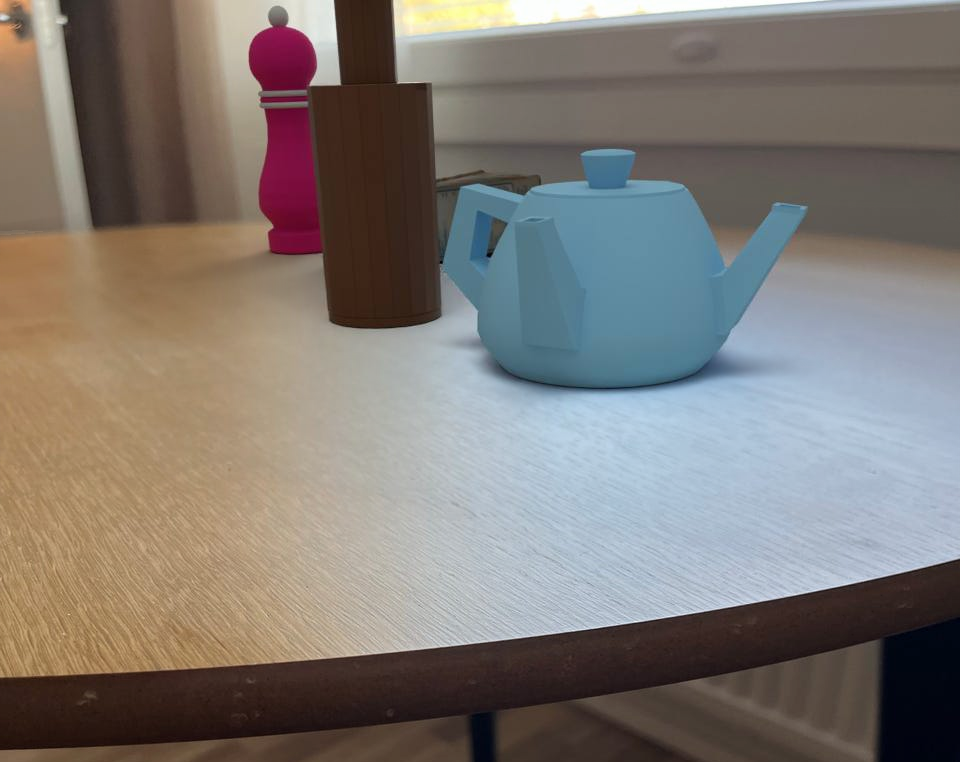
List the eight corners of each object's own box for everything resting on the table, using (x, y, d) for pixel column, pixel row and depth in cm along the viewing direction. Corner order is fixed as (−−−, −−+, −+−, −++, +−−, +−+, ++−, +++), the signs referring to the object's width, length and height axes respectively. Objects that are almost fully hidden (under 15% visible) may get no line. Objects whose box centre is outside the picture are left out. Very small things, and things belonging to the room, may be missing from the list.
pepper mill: (305, 257, 94) (279, 1, 85) (248, 252, 98) (217, 6, 88) (355, 246, 99) (336, 4, 90) (299, 241, 103) (275, 9, 93)
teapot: (666, 322, 66) (676, 136, 61) (798, 377, 54) (825, 149, 48) (438, 345, 62) (429, 149, 57) (523, 410, 50) (521, 166, 44)
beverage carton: (321, 263, 91) (313, 182, 88) (497, 241, 100) (496, 167, 97) (365, 274, 85) (359, 187, 82) (547, 249, 94) (548, 171, 91)
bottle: (305, 321, 69) (270, -11, 60) (374, 301, 75) (351, -5, 66) (398, 332, 66) (376, -20, 56) (462, 310, 71) (451, -13, 62)
